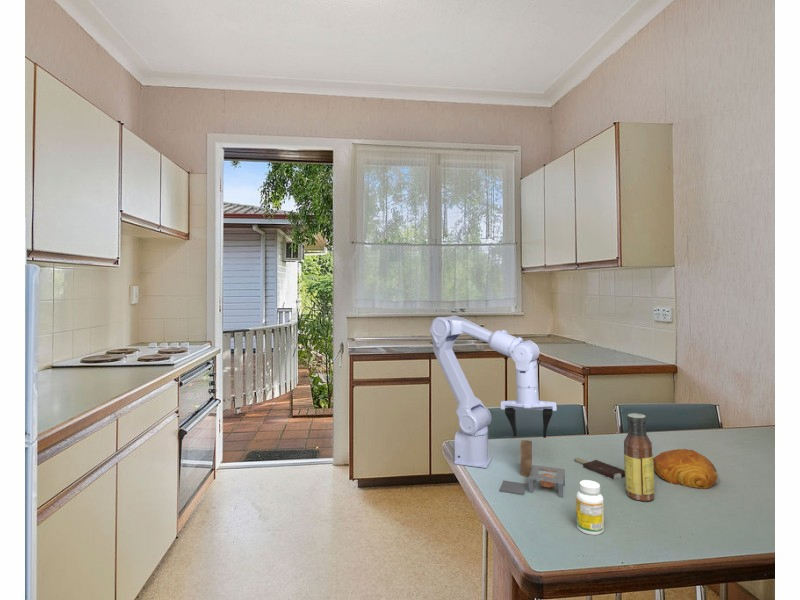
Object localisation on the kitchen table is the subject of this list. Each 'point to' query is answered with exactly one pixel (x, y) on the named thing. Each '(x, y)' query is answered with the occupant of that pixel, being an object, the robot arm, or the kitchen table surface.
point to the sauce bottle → (638, 460)
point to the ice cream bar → (602, 468)
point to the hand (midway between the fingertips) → (529, 436)
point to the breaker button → (545, 483)
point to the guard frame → (559, 477)
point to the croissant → (685, 468)
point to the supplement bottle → (590, 508)
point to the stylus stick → (526, 457)
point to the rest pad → (513, 487)
